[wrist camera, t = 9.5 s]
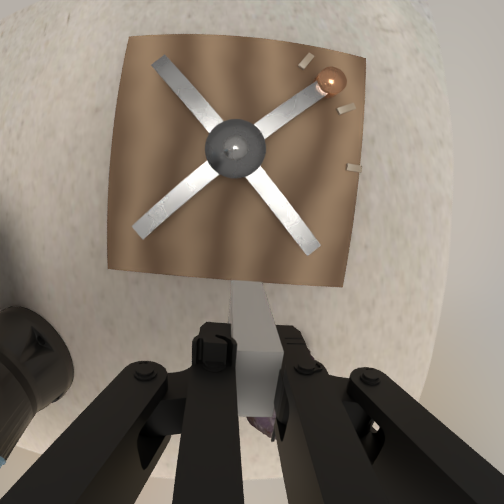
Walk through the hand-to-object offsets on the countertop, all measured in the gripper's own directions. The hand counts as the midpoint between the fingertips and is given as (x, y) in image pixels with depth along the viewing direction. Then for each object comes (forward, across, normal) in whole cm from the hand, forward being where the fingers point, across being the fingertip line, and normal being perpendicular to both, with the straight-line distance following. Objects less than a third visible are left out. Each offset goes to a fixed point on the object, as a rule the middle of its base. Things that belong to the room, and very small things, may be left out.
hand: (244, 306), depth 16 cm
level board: (+19, -1, +9) cm, 21 cm away
